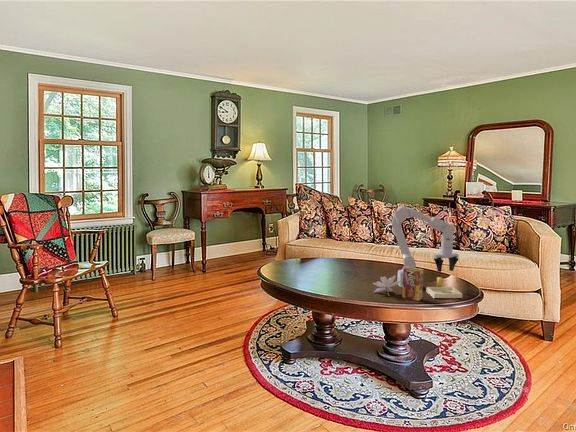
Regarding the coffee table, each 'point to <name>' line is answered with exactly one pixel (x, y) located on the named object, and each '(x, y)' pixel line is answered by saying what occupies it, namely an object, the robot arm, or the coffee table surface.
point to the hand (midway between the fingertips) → (445, 271)
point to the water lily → (386, 284)
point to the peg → (439, 282)
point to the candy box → (412, 283)
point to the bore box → (443, 292)
